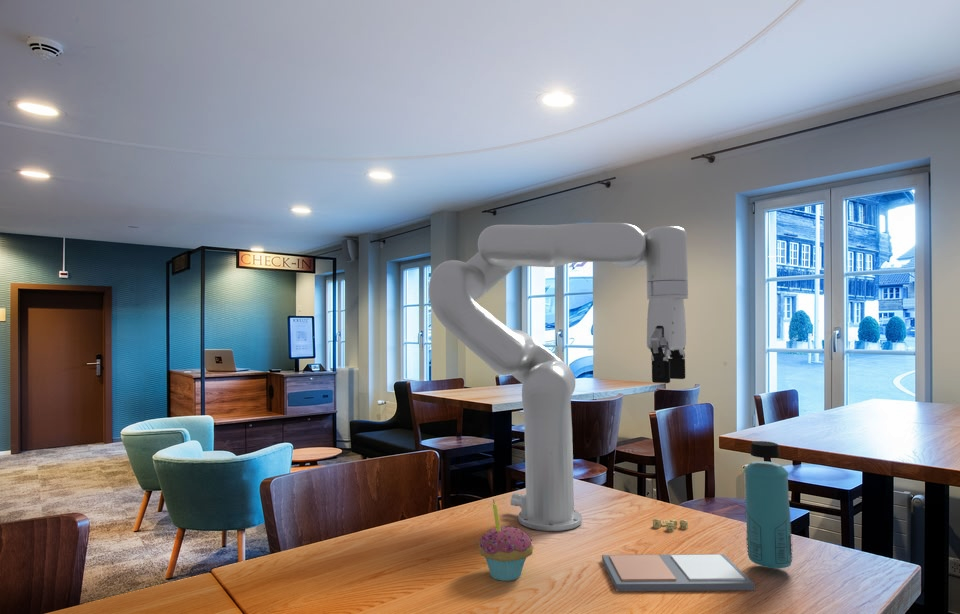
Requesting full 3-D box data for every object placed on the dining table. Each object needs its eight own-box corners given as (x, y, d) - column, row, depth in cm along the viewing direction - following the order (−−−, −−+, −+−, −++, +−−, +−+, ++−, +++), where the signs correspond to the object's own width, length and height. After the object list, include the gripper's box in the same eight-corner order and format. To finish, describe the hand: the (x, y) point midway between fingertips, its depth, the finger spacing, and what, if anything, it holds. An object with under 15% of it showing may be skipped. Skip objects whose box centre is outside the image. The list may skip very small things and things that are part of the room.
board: (616, 591, 85) (616, 582, 85) (602, 561, 96) (602, 553, 96) (754, 590, 84) (754, 581, 84) (724, 560, 95) (723, 552, 95)
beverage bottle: (799, 580, 87) (794, 446, 88) (752, 577, 89) (748, 445, 90) (785, 563, 94) (781, 438, 95) (741, 560, 95) (738, 437, 96)
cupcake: (494, 590, 85) (493, 508, 86) (469, 570, 93) (468, 494, 93) (543, 578, 89) (542, 500, 90) (515, 559, 97) (514, 487, 97)
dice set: (689, 531, 111) (689, 521, 111) (672, 537, 108) (672, 526, 108) (667, 524, 115) (667, 514, 115) (650, 529, 112) (650, 519, 112)
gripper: (662, 294, 121) (663, 376, 120) (632, 290, 107) (634, 383, 106) (699, 292, 116) (701, 378, 116) (673, 288, 102) (675, 385, 102)
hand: (669, 380), depth 111 cm, fingers open, 9 cm apart
